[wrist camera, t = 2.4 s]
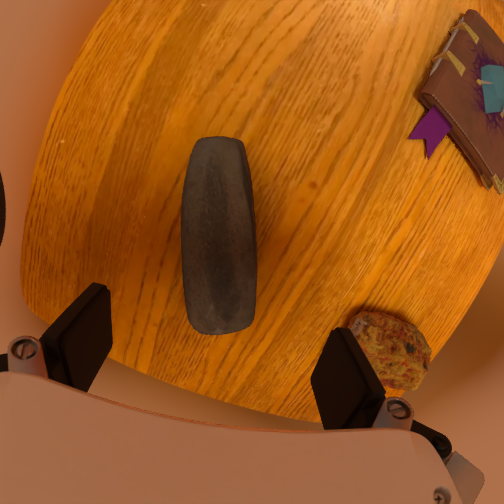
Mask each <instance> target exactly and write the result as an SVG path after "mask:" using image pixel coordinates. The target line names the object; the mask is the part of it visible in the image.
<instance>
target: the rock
mask: <svg viewBox="0 0 504 504" xmlns="http://www.w3.org/2000/svg"><path fill="white" fill-rule="evenodd" d="M347 328H349V329H350V330H351V331H352V333H353V335H354V336H355V338H356V340H357V341H358V343H359V345H360V347H361V348H362V350H363V352H364V354H365V355H366V357H367V359H368V361H369V362H370V364H371V366H372V368H373V369H374V371H375V373H376V375H377V376H378V378H379V380H380V382H381V384H382V386H385V387H386V386H388V387H390V388H394V389H398V390H399V389H403V390H408V391H411V390H415V389H416V388H418V386H419V385H420V383H421V382H422V381H423V379H424V377H425V375H426V373H427V371H428V366H429V363H430V355H431V352H432V351H431V348H430V347H429V345H428V344H427V342H426V340H425V337H424V336H423V334H422V333H421V332H420V331H419V330H418V329H417V328H416V327H415V326H414V325H413V324H408V323H407V322H406V321H405V322H403V321H401V320H398V319H397V318H395V317H393V316H390V315H387V314H386V313H385V312H379V313H377V312H368V311H362V312H360V313H359V314H357V315H356V316H354V317H352V318H351V319H350V322H349V325H348V327H347Z"/></svg>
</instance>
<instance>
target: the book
mask: <svg viewBox="0 0 504 504" xmlns="http://www.w3.org/2000/svg"><path fill="white" fill-rule="evenodd" d="M449 32H450V33H451V37H450V39H449V40H448V42H447V44H446V46H445V47H444V49H443V51H442V53H441V54H439V55H437V56H435V57H433V59H432V60H431V62H432V63H433V64H434V66H433V68H432V69H431V72H430V77H429V79H428V80H427V82H426V83H425V85H424V87H423V88H422V90H421V91H420V93H419V100H420V101H421V102H422V103H423V104H424V105H425V106H426V107H427V108H428V109H429V112H428V113H427V114H426V115H425V116H424V117H423V118H422V120H421V121H420V122H419V124H418V125H417V126H416V127H415V129H414V131H413V132H412V134H411V136H410V137H409V139H426V146H427V157H428V159H429V158H430V156H431V155H432V153H433V151H434V150H435V148H436V147H437V145H438V144H439V143H440V141H441V140H442V139H443V138H444V137H445V135H446V134H447V133H449V134H450V135H451V136H452V138H453V139H454V140H455V141H456V143H457V144H458V145H459V147H460V148H461V149H462V151H463V152H464V153H465V155H466V156H467V158H468V159H469V160H470V162H471V163H472V165H473V166H474V168H475V169H476V171H477V172H478V174H479V175H480V179H481V181H482V184H483V186H484V187H485V188H486V189H487V191H489V189H490V188H491V187H492V185H493V186H494V188H495V190H496V191H497V193H498V194H499V195H501V194H502V193H503V192H504V43H503V42H502V41H501V39H500V38H499V37H498V35H497V34H496V33H495V32H494V30H493V29H492V28H491V27H490V26H489V24H488V23H487V22H486V21H485V20H484V19H483V17H482V16H481V15H480V14H479V13H478V12H477V11H475V10H471V9H469V10H467V12H466V13H465V15H464V16H463V17H462V18H461V19H460V21H459V23H458V24H457V26H455V27H453V28H451V29H450V30H449Z"/></svg>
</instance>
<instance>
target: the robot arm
mask: <svg viewBox="0 0 504 504" xmlns="http://www.w3.org/2000/svg"><path fill="white" fill-rule="evenodd" d="M112 344H113V338H112V323H111V297H110V290H108V289H107V286H106V285H103V284H99V283H95V282H93V283H92V284H91V285H90V286H89V287H88V288H87V289H86V290H85V291H84V292H83V293H82V294H81V295H80V296H79V297H78V298H77V299H76V300H75V301H74V302H73V303H72V304H71V305H70V306H69V307H68V308H67V309H66V310H65V311H64V312H63V313H62V314H61V315H60V316H59V317H58V318H57V319H56V320H55V322H54V323H53V324H52V325H51V326H50V327H49V328H48V329H47V330H46V331H45V333H44V334H43V335H42V337H41V338H40V339H39V340H38V339H36V338H34V337H32V336H21V337H17V338H16V339H14V340H13V341H12V342H10V344H9V346H8V353H6V354H1V355H0V504H474V502H475V500H476V498H477V496H478V494H479V492H480V490H481V488H482V487H483V484H484V475H483V473H482V472H481V471H480V470H479V469H478V468H477V467H475V466H474V465H473V464H472V463H470V462H469V461H468V460H467V459H465V458H464V457H463V456H462V455H460V454H459V453H458V452H456V451H454V452H453V453H452V452H451V451H452V446H451V443H450V441H449V439H448V438H447V437H446V436H445V435H443V434H441V433H439V432H437V431H435V430H433V429H431V428H429V427H427V426H425V425H423V424H421V423H419V422H417V421H415V420H413V417H414V411H413V408H412V406H411V405H410V404H409V403H408V402H407V401H405V400H404V399H402V398H399V397H388V398H386V397H385V395H384V394H385V393H386V391H385V389H384V387H383V386H382V384H381V382H380V380H379V378H378V376H377V375H376V373H375V371H374V369H373V368H372V366H371V364H370V362H369V361H368V359H367V357H366V355H365V354H364V352H363V350H362V348H361V347H360V345H359V343H358V341H357V340H356V338H355V336H354V335H353V333H352V331H351V330H350V329H349V328H340V327H337V328H336V329H335V330H332V331H331V332H330V335H329V337H328V339H327V342H326V344H325V346H324V349H323V351H322V353H321V355H320V358H319V360H318V362H317V364H316V366H315V369H314V371H313V373H312V375H311V385H312V389H313V392H314V396H315V399H316V403H317V406H318V410H319V413H320V417H321V420H322V424H323V427H324V430H278V429H260V428H247V427H237V426H229V425H221V424H213V423H207V422H200V421H194V420H189V419H183V418H178V417H173V416H168V415H164V414H159V413H155V412H150V411H147V410H143V409H139V408H135V407H131V406H128V405H124V404H121V403H118V402H115V401H111V400H108V399H105V398H102V397H99V396H96V395H92V394H89V393H87V392H88V390H89V388H90V386H91V384H92V382H93V380H94V378H95V377H96V375H97V373H98V371H99V369H100V368H101V366H102V364H103V362H104V360H105V359H106V357H107V355H108V353H109V352H110V350H111V348H112Z"/></svg>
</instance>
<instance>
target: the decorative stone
mask: <svg viewBox="0 0 504 504" xmlns="http://www.w3.org/2000/svg"><path fill="white" fill-rule="evenodd" d="M181 253H182V273H183V288H184V296H185V304H186V310H187V316H188V320H189V322H190V324H191V325H192V326H193V328H194V329H195V330H197V331H198V332H199V333H201V334H206V335H208V334H209V335H222V334H228V333H232V332H237V331H240V330H243V329H245V328H247V327H249V326H250V325H251V323H252V322H253V320H254V315H255V305H256V287H257V241H256V226H255V213H254V203H253V195H252V181H251V175H250V169H249V165H248V161H247V156H246V152H245V147H244V144H243V142H242V141H240V140H238V139H234V138H228V137H224V136H223V137H220V136H215V137H206V138H201V139H199V140H198V141H197V142H196V144H195V146H194V148H193V150H192V153H191V156H190V160H189V163H188V167H187V172H186V176H185V181H184V187H183V194H182V205H181Z"/></svg>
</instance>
